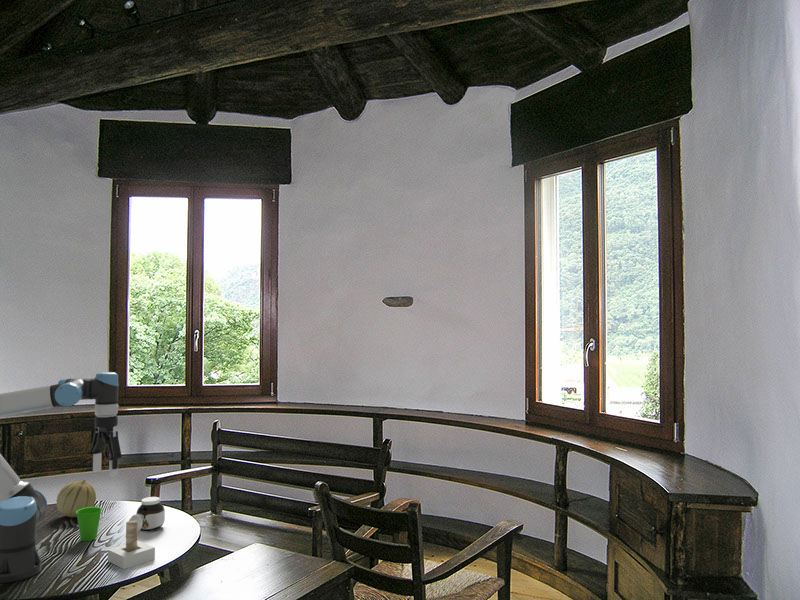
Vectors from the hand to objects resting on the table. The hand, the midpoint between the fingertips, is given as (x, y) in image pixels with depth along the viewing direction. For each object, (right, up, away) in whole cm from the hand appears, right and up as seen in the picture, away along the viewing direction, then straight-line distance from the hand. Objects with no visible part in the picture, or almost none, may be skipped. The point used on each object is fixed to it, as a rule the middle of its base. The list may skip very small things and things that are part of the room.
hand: (105, 474), depth 228 cm
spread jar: (+6, -28, +21) cm, 35 cm away
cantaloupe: (-30, -28, +38) cm, 56 cm away
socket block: (+14, -27, -10) cm, 32 cm away
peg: (+14, -27, -10) cm, 32 cm away
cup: (-11, -27, +10) cm, 31 cm away
